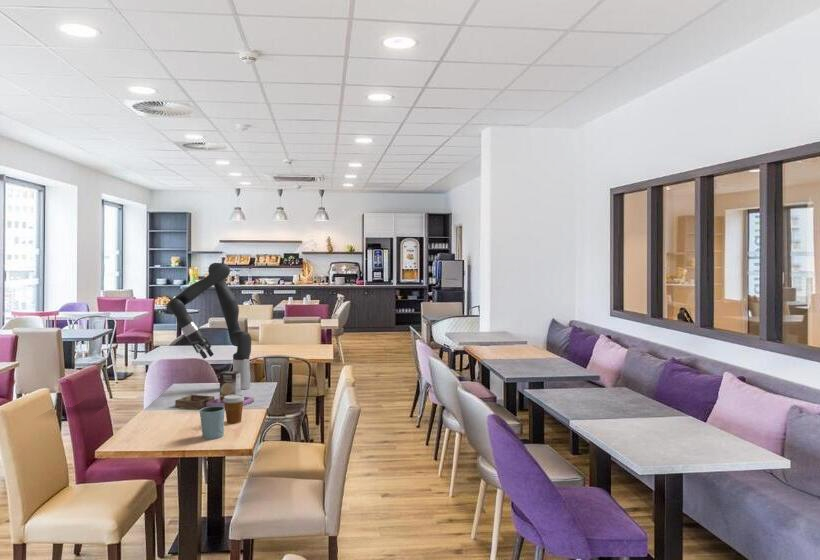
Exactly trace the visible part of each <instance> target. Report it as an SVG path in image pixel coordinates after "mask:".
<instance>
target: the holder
mask: <svg viewBox="0 0 820 560" xmlns="http://www.w3.org/2000/svg"><path fill="white" fill-rule="evenodd" d="M214 399H215V396H214V395H203V394H201V395H200V394H190V395H187V396H184V397H181V398H177V399H175V400H174V403H175V404H174V405H175V406H174V407H175V408H180V407H183V408H182V409H191V408H197V409H196V410H200V409H199V408H201V409H202V407H203V408H205V406H206V403H207V402H209V401H212V400H214Z"/></svg>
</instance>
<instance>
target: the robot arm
mask: <svg viewBox="0 0 820 560" xmlns="http://www.w3.org/2000/svg"><path fill="white" fill-rule="evenodd" d="M230 273H231V268H230V266H229V265H228V264H226V263H224V262H213V263H211V264H209V267H208V275H206V276H205V277H204V278H202V279H200V280H198V281H195V282H193V283H192V284H190V285H189V286H187V287H186V288H185V289H183V290H182V292H181V293H180V294H178V295H176V296H175V297H173V298H172V299H170V300H169V301H168V302H167V304H166V305H165V306H166V311H167V312H168V313H170V314H173V315H174V316H175V318H176V320H175V321H176V322H177V324H178V326H179V328H181V330H182V332H183V334H184V335H185V337H186V339H187V340H188V342H189V343H191V346H192V347H193V349H194V350H195V352H196V354H200V356H201V357H202V359H203V360H206V358H208V356H209V357H210V358H211V357H212V356H214V355H215V354H214V353H213V351H212V349H211V348H212V346H211V344H210V343H209V341H208V340H207V338H206V337H203V336H204V335H203V333H202V331H201V330H200V328H199V327H198V325H197V324H196V323H195V321H194V320H193V319H192V317H191V316H190V314H189V313H188V310H187V308H186V306H187V305H188V304H190V303H192V302H193V301H194V300H195V299H197V298H198V297H199V296H200V295H202V294H203V293H204V292H205V291H207V290H208V289H209V288H211V287H214V289H215V292H216V295H217V299H218V302H219V304H220V305H219V306H220V308H221V311H222V314H223V317H224V320H225V324H226V328H227V332H228V336H229V337H228V338H229V342H230V344H231V345H233V346H234V347H236V352H235V353H233V355H232V366H233V367H232V371H240V372H241V391H242V390H247V389H250V388H251V370H250V368H251V367H250V366H251V364H250V356H251V354H252V353H251V352H252V336H251V334H250V333H249V332H248V331H242V330H241V327H240V324H239V313H240V308H239V304H238V301H237V298H236V296H235V294H234V292H232V290H231V288H230V287H229V286H228V284H227V281H226V279H227V278H228V277H229V275H230ZM202 337H203V338H202ZM206 353H207V354H208V355H207V354H206Z"/></svg>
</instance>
